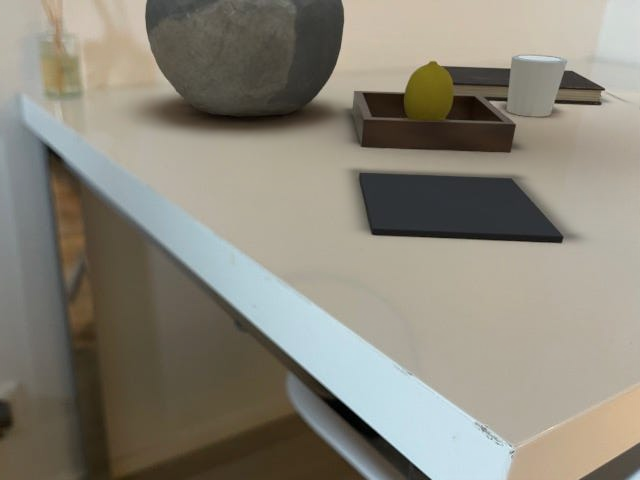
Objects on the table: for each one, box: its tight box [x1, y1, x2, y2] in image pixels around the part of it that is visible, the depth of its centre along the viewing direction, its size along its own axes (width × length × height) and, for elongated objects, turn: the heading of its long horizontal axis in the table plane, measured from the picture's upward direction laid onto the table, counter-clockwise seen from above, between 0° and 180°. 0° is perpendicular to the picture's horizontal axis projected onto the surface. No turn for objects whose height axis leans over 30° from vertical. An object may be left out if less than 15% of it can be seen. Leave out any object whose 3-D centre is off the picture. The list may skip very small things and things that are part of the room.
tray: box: [351, 90, 517, 153], centre depth 78 cm, size 16×16×3 cm
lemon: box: [404, 60, 454, 120], centre depth 77 cm, size 6×6×8 cm
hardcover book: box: [441, 65, 606, 106], centre depth 102 cm, size 16×23×2 cm
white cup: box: [506, 54, 568, 118], centre depth 88 cm, size 7×7×7 cm
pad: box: [358, 172, 564, 243], centre depth 55 cm, size 14×14×1 cm
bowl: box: [144, 0, 345, 118], centre depth 83 cm, size 24×24×15 cm
